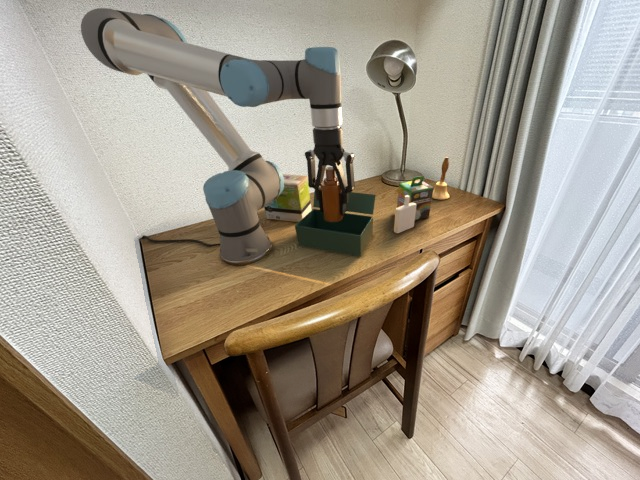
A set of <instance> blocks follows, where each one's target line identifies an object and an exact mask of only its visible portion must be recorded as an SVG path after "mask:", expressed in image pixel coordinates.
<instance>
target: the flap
mask: <svg viewBox="0 0 640 480" xmlns="http://www.w3.org/2000/svg"><path fill="white" fill-rule="evenodd" d="M376 197H377V195H376V194H373V193H363V192H353V191H352V192H349V201H348V203H347V204H346V212H347V213H355V214H362V215H371V216H373V215H374V210H375V203H376ZM312 204H313V205H312V207H313V208H316V209H320V206H319V200H317V199H316V191H315V190H314V193H313V203H312Z"/></svg>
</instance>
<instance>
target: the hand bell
mask: <svg viewBox="0 0 640 480" xmlns="http://www.w3.org/2000/svg"><path fill="white" fill-rule="evenodd" d="M449 158H450V157H449V156H445V157H444V159H443V161H442V164H441V176H440V180H439V181H438V182H436V183H435V186H434V189H433V195H432V199H435V200H439V201H440V200H441V201H442V200H443V201H444V200H448V199H450V194H449V193H448V184H447V183H446V182H445V181H446V174H447V172H448V170H449V166H450V159H449Z"/></svg>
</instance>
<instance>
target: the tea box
mask: <svg viewBox="0 0 640 480" xmlns="http://www.w3.org/2000/svg"><path fill="white" fill-rule="evenodd" d="M282 174H283V177H284V189H283V191H282V193H281V194H280V195H279V196H278V197H277V198H276V199H275V200H274V201H271V202H270V203H269V204H267V205H266V206H264V207H263V208H264V213H265V217H266V219H267V220H277V221H287V222H294V223H298V222H300V221H301V220H302V219H303V218H304V217H305V216H306V215H307V214H308V213H309V212H310V211H312V210H313V209H312V201H311V194H310V187H309V185H308V175H301V174H286V173H285V174H284V173H282Z"/></svg>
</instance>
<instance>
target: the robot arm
mask: <svg viewBox="0 0 640 480" xmlns="http://www.w3.org/2000/svg"><path fill="white" fill-rule="evenodd" d="M80 33H81V37H82V40H83V42H84V44H85V46H86V48H87V49H88V51H89V52H90V53H91V55H92V56H93V57H94V58H95V60H97V61H98V62H100V63H101V64H102V65H104V66H105V67H107V68H108V69H111V70H113V71H117V72H120V73H124V74H128V75H130V76H140V75H143V74H145V75H147V76H148V77H149V78H150V80H151V81H152V82H153V83H154V84H155V86H156V87H157V88H159V89H163V90H167V92H168V93H169V94H170V96H171V97H172V98H173V100H174V101H175V102H176V103H177V104H178V106H179V107H180V108H181V109H182V111H183V112H184V113H185V114H186V116H187V117H188V118H189V119H190V121H191V122H192V123H193V125H194V126H195V127H196V128H197V130H198V131H199V133H201V134H202V136H203V137H204V139H206V140H207V142H208V143H209V145H210V146H211V147H212V148H213V150H214V151H215V152H216V154H217V155H218V156H219V157H220V158H221V160H222V161H223V163H225V165H226V166H227V169H228V170H226V171H223V172H220V173H216V174H214V175H212V176H210V177H209V178H207V179H206V181H205V182H204V184H203V186H202V190H203V194H204V198H205V202H206V204H207V206H208V209H209V211H210V214H211V216H212V218H213V221H214V223H215V226H216V229H217V231H218V234H219V243H205V242H203V241H201V240H198V239H193V238H191V239H190V238H185V239H184V238H183V239H181V238H180V239H151V238H149V237H148V236H147V235H142V236H141V239H142V240H143V239H146V240H147V241H149V242H151V243H181V242H194V243H198V244H200V245H202V246H205V247H219V255H220V258H221V260H222V261H223V262H224V263H225V264H227V265H230V266H247V265H251V264H254V263H257V262H259V261H261V260H263V259H265V258H266V257H267V256H268V255H270V253H271V252H272V250H273V245H272V241H271V239H270V237H269V236H268V235H267V233H266V231H265V230H264V228H263V227H262V225H261V222H260V218H259V216H258V212H259V211H260V210H262V209H263V208H264V206H266V205H267V204H269V203H270V202H271V201H274V200H275V199H276V198H277V197H278V196H279V195H280V194H281V193H282V191H283V189H284V177H283V174H284V173H283V172H282V170H281V168H280V167H279V165H277V164H276V163H275V162H274V161H273V162H271V161H270V160H265V159H264V157H263V156H262V154H261V153H260V152H258V151H254V150H252V149H251V148H250V146H249V145H248V144H247V142H246V141H245V140H244V138H243V137H242V136H241V134H240V133H239V132H238V131H237V129H236V128H235V126H234V125H233V124H232V122H231V121H230V120H229V119H228V117H227V116H226V114H225V113H224V112H223V110H222V109H221V108H220V107H219V105H218V103H217V102H216V101H215V100H214V98H213V97H212V95H211V94H212V93H213V94H217V95H220V96H223V97H226V98H228V100H230V101H231V102H232V103H233V104H234V105H236V106H237V107H238V106H239V107H240V108H246V107H247V108H256V107H259V106H261V105H267V104H271V103H276V102H282V101H286V100H309V107H310V119H311V126H312V127H313V128H312V139H313V145H314V147H313V149H308V150H307V151H306V152H304V157H305V160H306V166H307V167H306V168H307V177H308V185H309V189H310V188H312V189H314V191H316V199H317V200H319V206H320V208H319V210H320V212H323V204H322V193H321V182H322V181H324V179H325V178H324V177H325V174H326V168H327V167H333V169H334V170H335V177H336V178H337V179H338V182H339V185H340V187H341V190H342V192H341V193H340V213H341V215H344V213H347V211H346V204H347V203H348V201H349V192H353V191H354V190H355V189H356V185H355V184H356V183H355V170H354V160H355V157H356V156H355V153H354V152H347V151H345V148H344V137H343V128H342V127H341V126H342V125H343V112H342V111H343V109H342V81H341V79H342V78H341V75H342V72H341V62H340V53H339V50H338V49H337V48H336V47H332V46H315V47H314V46H313V47H307V48H306V49H305V51H304V59H297V60H296V59H295V60H291V59H290V60H289V59H288V60H276V59H275V60H273V59H272V60H270V59H269V60H267V59H266V60H265V59H260V60H259V59H252V58H247V57H243V56H239V55H234V54H230V53H227V52H222V51H219V50H215V49H213V48H209V47H208V48H207V47H204V46H200V45H195V44H192V43H189V42H188V41H187V39H186V37H185V35H184V34H183V33H182V32H181V31H180V29H179V28H178V27H177V26H176V25H175V24H174V23H173V22H171V21H170V20H168V19H166V18H163V17H160V16H158V15H155V14H150V13H144V14H141V13H135V12H129V11H124V10H119V9H113V8H106V7H98V8H94V9H91V10H89V11H87V12H86V13H85V14H84V15H83V17H82V19H81V23H80ZM210 93H211V94H210ZM316 158H317V160H318V163H317V168H318V169H317V173H316ZM342 158H343V159H344V162H345V172H344V169H343V163H342ZM345 173H346V175H345Z"/></svg>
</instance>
